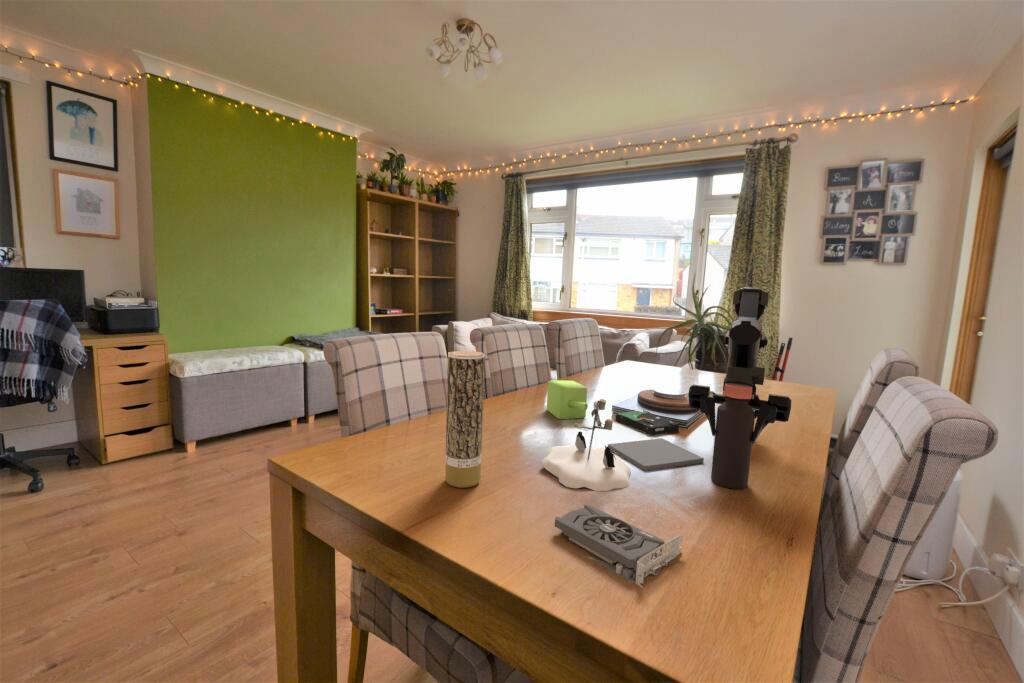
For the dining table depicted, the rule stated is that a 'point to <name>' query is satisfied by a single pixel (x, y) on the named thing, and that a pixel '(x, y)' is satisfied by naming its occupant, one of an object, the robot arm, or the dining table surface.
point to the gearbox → (566, 399)
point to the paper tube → (464, 418)
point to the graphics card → (618, 543)
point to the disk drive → (647, 422)
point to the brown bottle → (733, 438)
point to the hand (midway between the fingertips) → (733, 438)
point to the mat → (654, 454)
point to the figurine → (588, 461)
